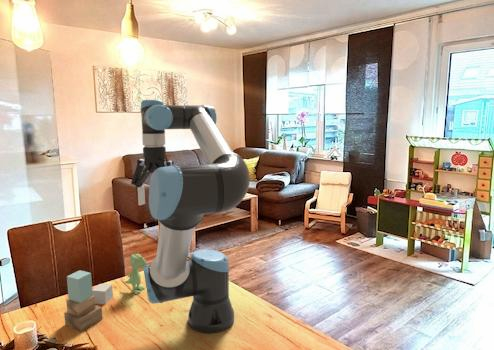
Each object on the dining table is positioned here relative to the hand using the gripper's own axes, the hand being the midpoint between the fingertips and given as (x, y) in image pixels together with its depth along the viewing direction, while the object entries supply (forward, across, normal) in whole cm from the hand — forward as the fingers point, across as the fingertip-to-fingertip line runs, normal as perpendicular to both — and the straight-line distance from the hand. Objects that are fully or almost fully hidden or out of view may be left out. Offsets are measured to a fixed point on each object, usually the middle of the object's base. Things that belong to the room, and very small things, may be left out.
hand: (157, 206), depth 124 cm
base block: (+36, +14, +22) cm, 44 cm away
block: (+35, +19, +9) cm, 41 cm away
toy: (+35, +14, -2) cm, 38 cm away
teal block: (+27, +14, +22) cm, 38 cm away
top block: (+31, +14, +22) cm, 41 cm away
